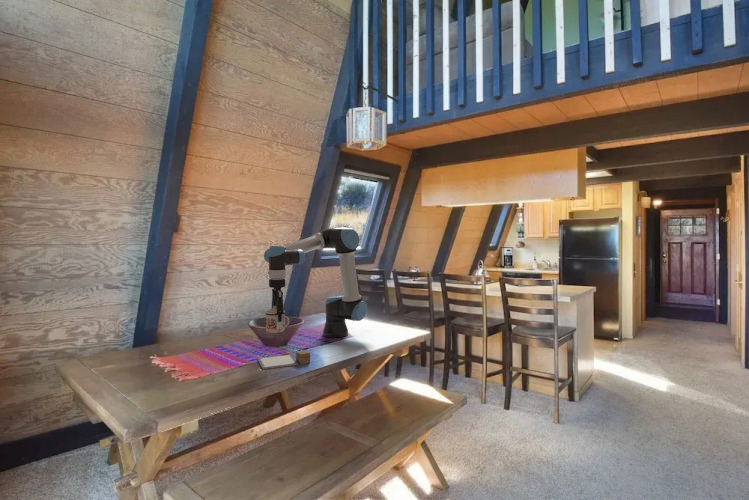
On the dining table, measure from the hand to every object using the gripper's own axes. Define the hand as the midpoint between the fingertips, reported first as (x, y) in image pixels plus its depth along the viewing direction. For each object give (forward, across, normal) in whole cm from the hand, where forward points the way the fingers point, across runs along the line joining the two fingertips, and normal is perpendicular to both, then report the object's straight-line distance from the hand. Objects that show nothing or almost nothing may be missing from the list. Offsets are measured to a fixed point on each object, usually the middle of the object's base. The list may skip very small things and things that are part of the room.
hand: (277, 326), depth 195 cm
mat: (+17, 0, 0) cm, 17 cm away
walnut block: (+17, +5, +11) cm, 21 cm away
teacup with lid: (+2, +1, 0) cm, 3 cm away
